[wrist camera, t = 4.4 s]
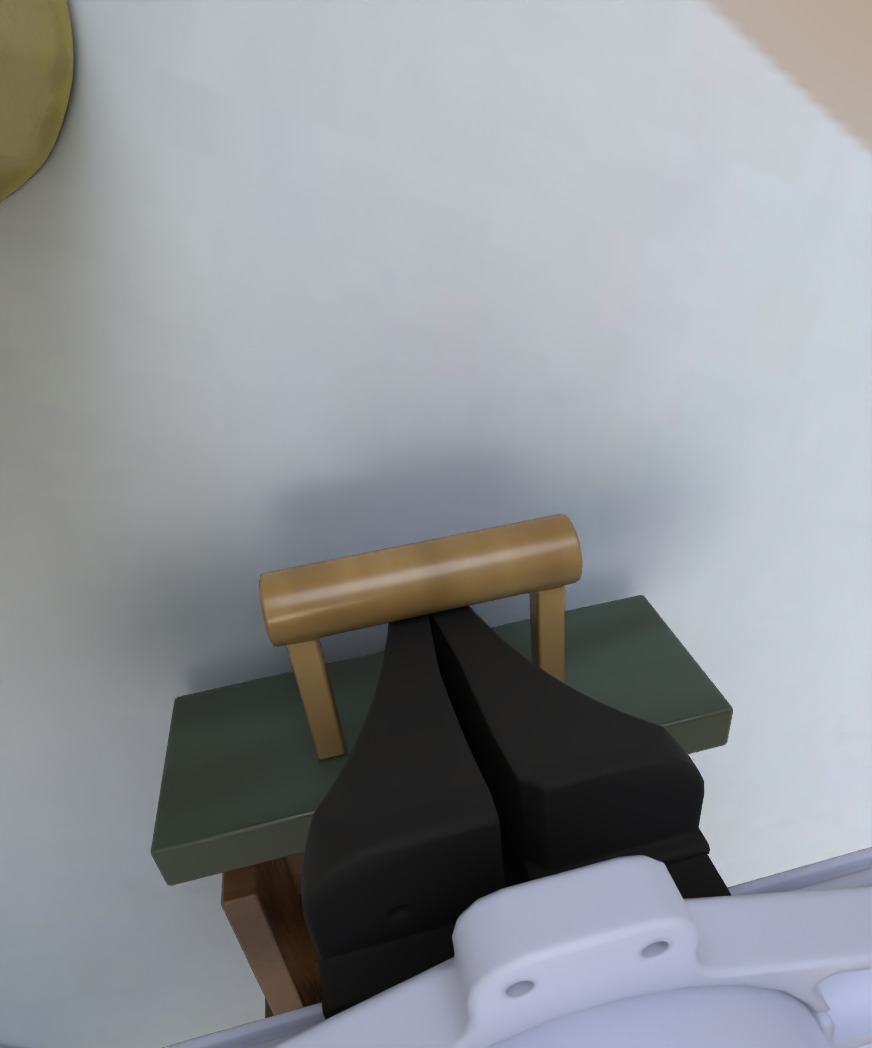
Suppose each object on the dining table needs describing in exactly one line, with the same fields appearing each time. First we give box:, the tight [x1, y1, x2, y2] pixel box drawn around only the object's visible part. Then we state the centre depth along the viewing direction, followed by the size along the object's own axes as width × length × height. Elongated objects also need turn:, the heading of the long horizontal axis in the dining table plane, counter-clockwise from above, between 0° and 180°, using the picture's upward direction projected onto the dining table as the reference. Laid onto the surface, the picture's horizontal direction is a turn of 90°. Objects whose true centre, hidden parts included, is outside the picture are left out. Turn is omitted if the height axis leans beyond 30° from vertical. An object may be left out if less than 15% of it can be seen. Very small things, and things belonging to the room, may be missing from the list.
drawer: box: [151, 514, 733, 1016], centre depth 19 cm, size 20×12×4 cm, turn 6°
